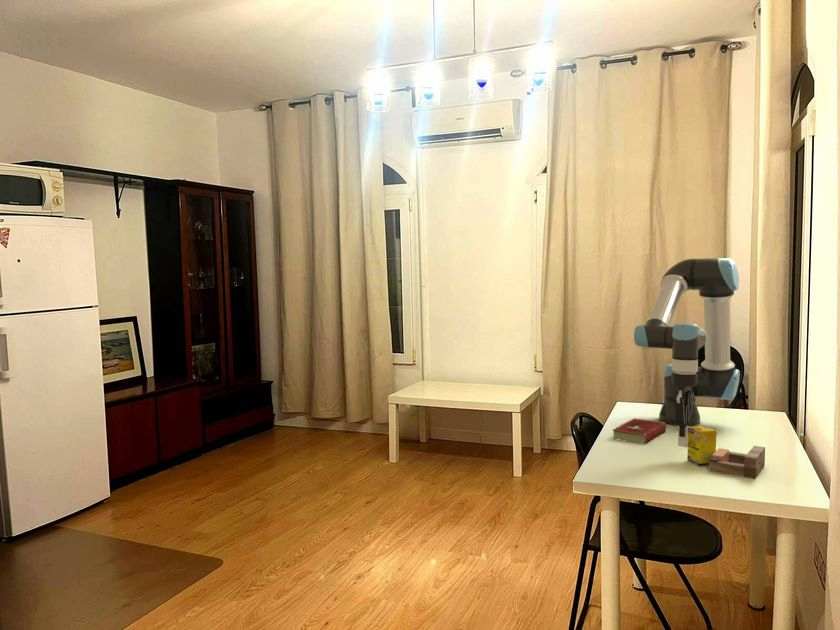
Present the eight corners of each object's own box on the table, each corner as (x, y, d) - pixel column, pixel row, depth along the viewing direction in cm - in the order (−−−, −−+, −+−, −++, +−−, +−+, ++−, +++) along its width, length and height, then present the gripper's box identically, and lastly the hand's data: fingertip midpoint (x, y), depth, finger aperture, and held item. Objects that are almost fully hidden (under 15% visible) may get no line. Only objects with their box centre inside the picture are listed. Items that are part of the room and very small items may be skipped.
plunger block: (718, 460, 200) (718, 448, 200) (728, 462, 198) (729, 449, 198) (711, 467, 193) (711, 454, 193) (722, 469, 192) (722, 456, 191)
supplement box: (686, 460, 201) (687, 426, 201) (702, 459, 203) (703, 425, 202) (699, 466, 196) (700, 431, 195) (716, 464, 197) (716, 429, 196)
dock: (720, 459, 202) (720, 440, 202) (764, 466, 195) (765, 447, 194) (709, 470, 191) (709, 451, 191) (755, 479, 184) (755, 458, 183)
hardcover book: (666, 433, 236) (666, 422, 236) (645, 446, 220) (646, 434, 220) (634, 428, 244) (634, 417, 244) (612, 440, 228) (612, 428, 227)
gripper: (678, 368, 208) (677, 439, 210) (665, 374, 198) (664, 448, 199) (702, 370, 203) (701, 443, 205) (691, 376, 193) (689, 452, 195)
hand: (683, 445), depth 202 cm, fingers closed
